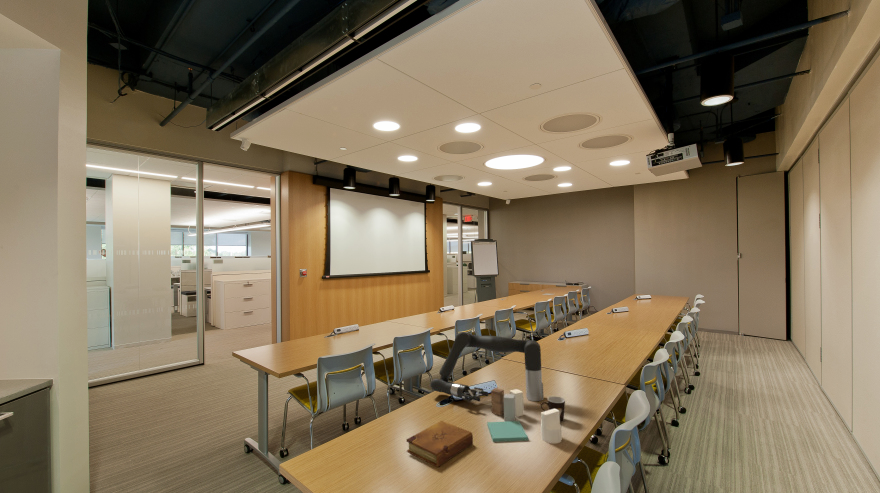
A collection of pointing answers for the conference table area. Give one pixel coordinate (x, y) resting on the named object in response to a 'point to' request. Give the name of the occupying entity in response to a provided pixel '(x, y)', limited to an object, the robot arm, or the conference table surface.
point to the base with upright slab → (551, 426)
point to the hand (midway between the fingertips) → (484, 396)
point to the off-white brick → (518, 402)
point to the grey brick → (509, 407)
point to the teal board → (507, 431)
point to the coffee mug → (556, 405)
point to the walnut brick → (497, 401)
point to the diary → (439, 443)
